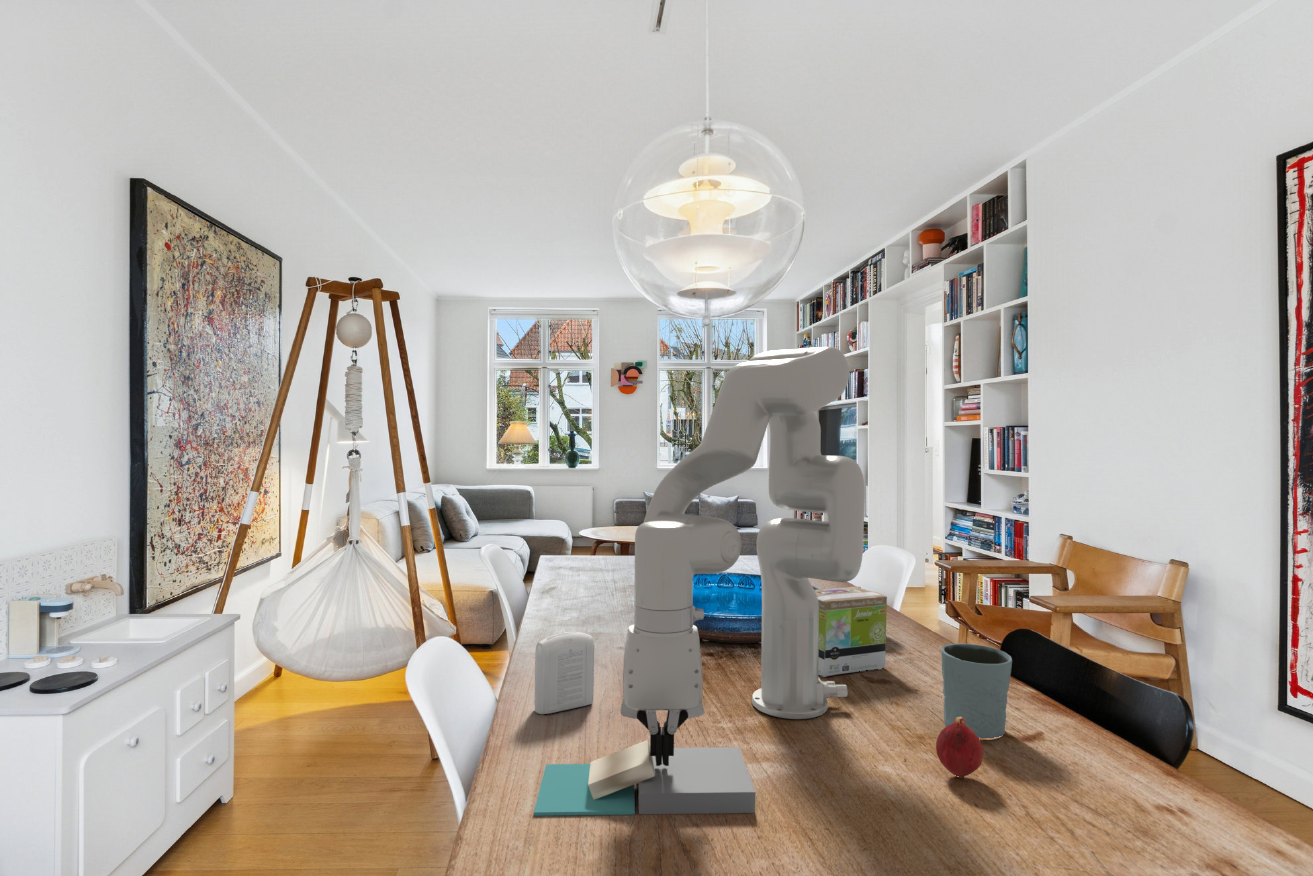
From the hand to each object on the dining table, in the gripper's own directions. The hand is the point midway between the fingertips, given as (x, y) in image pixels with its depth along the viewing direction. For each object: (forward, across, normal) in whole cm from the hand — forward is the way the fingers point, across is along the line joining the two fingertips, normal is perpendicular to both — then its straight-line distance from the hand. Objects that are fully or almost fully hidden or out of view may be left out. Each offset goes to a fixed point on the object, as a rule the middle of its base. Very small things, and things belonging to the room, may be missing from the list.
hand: (661, 760), depth 88 cm
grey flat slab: (+4, -4, 0) cm, 5 cm away
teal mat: (+4, +10, 0) cm, 10 cm away
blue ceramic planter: (+4, -50, -17) cm, 53 cm away
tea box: (+4, -38, -47) cm, 61 cm away
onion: (+4, -40, -2) cm, 40 cm away
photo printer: (+4, +15, -27) cm, 31 cm away
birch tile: (+2, +5, 0) cm, 5 cm away
